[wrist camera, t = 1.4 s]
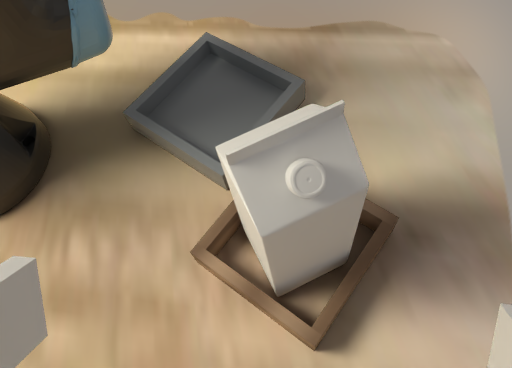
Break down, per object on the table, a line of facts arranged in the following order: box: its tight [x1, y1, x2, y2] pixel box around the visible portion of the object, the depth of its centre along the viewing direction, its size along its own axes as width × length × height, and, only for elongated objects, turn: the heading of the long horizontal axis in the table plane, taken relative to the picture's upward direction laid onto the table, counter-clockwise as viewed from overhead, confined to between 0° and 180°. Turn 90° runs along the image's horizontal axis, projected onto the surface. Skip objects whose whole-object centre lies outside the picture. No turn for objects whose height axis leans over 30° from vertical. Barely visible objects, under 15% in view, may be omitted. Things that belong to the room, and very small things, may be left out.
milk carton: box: [215, 100, 369, 297], centre depth 31 cm, size 7×7×19 cm
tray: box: [123, 32, 305, 190], centre depth 46 cm, size 14×14×3 cm
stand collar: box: [190, 198, 399, 351], centre depth 38 cm, size 13×13×3 cm
